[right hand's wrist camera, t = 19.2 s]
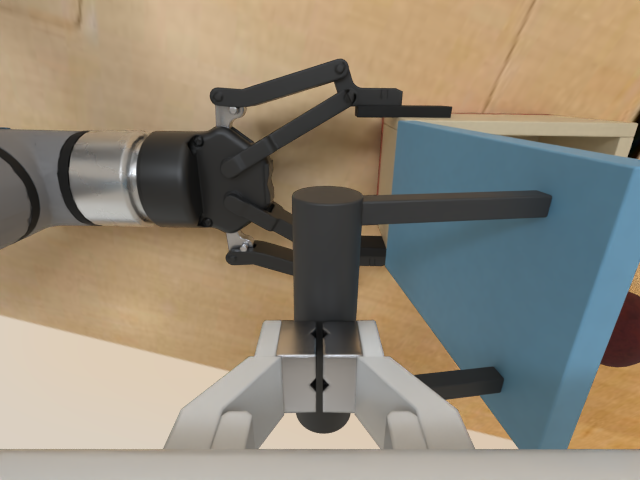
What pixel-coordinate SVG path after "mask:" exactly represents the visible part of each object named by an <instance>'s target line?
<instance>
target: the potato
mask: <svg viewBox="0 0 640 480" xmlns="http://www.w3.org/2000/svg"><path fill="white" fill-rule="evenodd" d="M637 363H640V297H639V296H638V295H636V294H633V293H631V292H628V293H627V296H626V298H625V301H624V303H623V306H622V308H621V311H620V314H619V316H618V319H617V321H616V324H615V326H614V329H613V332H612V334H611V337H610V339H609V342H608V345H607V347H606V350H605V352H604V355H603V357H602V360H601V363H600V364H602V365H606V366H611V367H627V366H630V365H634V364H637Z"/></svg>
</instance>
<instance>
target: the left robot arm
mask: <svg viewBox="0 0 640 480" xmlns="http://www.w3.org/2000/svg"><path fill="white" fill-rule="evenodd" d="M331 82H334V84H335V87H336V90H337V94H335V95H333V96H332V97H330V98H328V99H327V100H325V101H324V102H322V103H320V104H319V105H317V106H315V107H314V108H312V109H310V110H309V111H307V112H305V113H304V114H302V115H301V116H299V117H297V118H296V119H294V120H292V121H291V122H289V123H287V124H286V125H284V126H282V127H281V128H279V129H277V130H276V131H274V132H272V133H271V134H269V135H268V136H266V137H264V138H263V139H261V140H259V141H258V142H256V143H254V142H253V141H252V140H250V139H249V138H248V137H246V136H245V135H243V134H242V133H241V132H239V131H238V130H237V129H235V128H234V127H232V124H233V121H234V120H235V119H237V118H240V117H243V116H244V115H245V113H246V107H249V106H256V105H260V104H263V103H267V102H270V101H273V100H276V99H279V98H283V97H286V96H289V95H292V94H296V93H299V92H302V91H305V90H308V89H312V88H315V87H318V86H321V85H325V84H328V83H331ZM402 93H403V91H400V90H398V89H396V88H359V87H357V86H356V85H355V84H354V83H353V81H352V78H351V74H350V71H349V66H348V63H347V62H346V61H345V60H343V59H336V60H333V61H330V62H327V63H324V64H320V65H317V66H314V67H311V68H308V69H305V70H302V71H298V72H295V73H292V74H289V75H286V76H283V77H280V78H276V79H273V80H270V81H267V82H264V83H261V84H258V85H254V86H251V87H248V88H245V89H231V88H214V89H212V91H211V92H210V99H211V101H212V103H213V104H215V108H216V127H214V128H212V129H211V130H209V131H204V132H195V131H155V132H152V133H151V134H149V133H147V132H145V131H102V130H92V131H52V130H17V129H10V128H3V127H0V249H2V248H4V247H6V246H8V245H11V244H13V243H15V242H17V241H19V240H22V239H24V238H26V237H28V236H30V235H32V234H34V233H36V232H39V231H41V230H43V229H45V228H48V227H52V226H60V225H71V226H129V227H151V226H153V225H155V224H156V225H158V226H160V227H187V228H205V227H213V228H216V229H219V230H221V231H223V232H225V233H226V235H227V241H228V247H229V252H228V253H227V255H226V261H227V262H228V263H229V264H231V265H250V264H254V265H258V266H261V267H265V268H268V269H272V270H275V271H279V272H283V273H286V274H290V275H293V250H292V249H289V248H285V247H282V246H278V245H275V244H271V243H268V242H264V241H254V239H253V237H252V236H249V235H245V234H243V233H242V231H241V229H242V228H244V227H245V226H247V225H248V224H249V223H251V222H253V223H255V224H257V225H259V226H260V227H262V228H264V229H266V230H268V231H274V232H276V233H278V234H280V235H282V236H284V237H285V238H287V239H289V240H291V241H293V223H292V214H291V213H289V212H287V211H285V210H284V209H283V208H282V207H281V206H280V205H278V204H277V203H275V202H273V199H274V187H273V184H272V181H271V176H272V172H273V160H271V158H270V156H269V155H270V154H272V153H274V152H275V151H277V150H278V149H280V148H281V147H283V146H285V145H286V144H288V143H290V142H291V141H293V140H295V139H297V138H298V137H300V136H302V135H303V134H305V133H307V132H308V131H310V130H312V129H313V128H315V127H317V126H318V125H320V124H322V123H323V122H325V121H327V120H329V119H330V118H332V117H334V116H335V115H337V114H339V113H340V112H342V111H344V110H345V109H347V108H349V107H350V106H355V116H357V117H379V118H398V117H412V118H451V111H452V107H449V106H412V105H402ZM386 250H387V249H386V246H385V243H384V241H383V238H382V236H361V246H360V262H359V266H383V265H385V261H386Z"/></svg>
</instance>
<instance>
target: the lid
mask: <svg viewBox="0 0 640 480" xmlns="http://www.w3.org/2000/svg"><path fill="white" fill-rule="evenodd" d="M292 223H293V279H294V320H296V321H316V331H317V374H316V412H303V413H296V415H297V418H298V420H299V421H300V423H301V424H302V425H303V426H304V427H305V428H307V429H308V430H310V431H313V432H316V433H332V432H335V431H337V430H339V429H341V428H342V427H343V426H344V425H345V424H346V423H347V421H348V420H349V417H350V413H336V412H323V380H322V326H323V321H356V313H357V296H358V279H359V262H360V246H361V229H362V225H382V224H389V228H388V239H387V250H386V261H385V267H386V268H387V270H388V271H389V272H390V274H391V275H392V276H393V278H394V279H395V281H396V282H397V283H398V285H399V286H400V287H401V289H402V290H403V291H404V293H405V294H406V296H407V297H408V298H409V300H410V301H411V302H412V304H413V305H414V307H415V308H416V309H417V311H418V312H419V313H420V315H421V316H422V317H423V319H424V320H425V322H426V323H427V324H428V326H429V327H430V328H431V330H432V331H433V332H434V334H435V335H436V337H437V338H438V339H439V341H440V342H441V343H442V345H443V346H444V347H445V349H446V350H447V352H448V353H449V354H450V356H451V357H452V358H453V360H454V361H455V362H456V364H457V365H458V367H459V368H460V369H461V370H455V371H446V372H437V373H428V374H419V375H414V376H415V377H416V378H418V379H419V380H420V381H422V382H423V383H424V384H425V385H427V386H428V387H429V388H431V389H432V390H433V391H434V392H436V393H437V394H438V395H439V396H441V397H442V398H443V399H445V400H446V399H454V398H462V397H471V396H479V395H480V397H481V398H482V399H483V401H484V402H485V403H486V405H487V406H488V408H489V409H490V410H491V412H492V413H493V414H494V416H495V417H496V418H497V420H498V421H499V423H500V424H501V425H502V427H503V428H504V429H505V431H506V432H507V434H508V435H509V436H510V438H511V439H512V440H513V442H514V443H515V444H516V446H517V447H518V449H567V448H568V445H569V443H570V440H571V437H572V435H573V432H574V430H575V427H576V424H577V422H578V419H579V417H580V414H581V412H582V409H583V406H584V404H585V401H586V399H587V396H588V394H589V391H590V388H591V386H592V383H593V381H594V378H595V375H596V373H597V370H598V368H599V365H600V363H601V360H602V357H603V355H604V352H605V350H606V347H607V345H608V342H609V339H610V337H611V334H612V332H613V329H614V326H615V324H616V321H617V319H618V316H619V314H620V311H621V308H622V306H623V303H624V301H625V298H626V296H627V293H628V290H629V288H630V285H631V283H632V280H633V277H634V275H635V272H636V270H637V267H638V265H639V262H640V160H638V159H632V158H627V157H621V156H615V155H609V154H604V153H598V152H592V151H587V150H581V149H575V148H569V147H564V146H558V145H552V144H546V143H541V142H535V141H529V140H524V139H518V138H512V137H506V136H501V135H495V134H489V133H483V132H478V131H472V130H466V129H461V128H455V127H449V126H443V125H438V124H432V123H426V122H420V121H415V120H399V121H398V128H397V139H396V150H395V161H394V172H393V183H392V195H364V196H363V195H362V194H361V193H360V192H358V191H356V190H353V189H349V188H344V187H336V186H315V187H307V188H303V189H300V190H297V191H295V192H294V193H293V195H292Z"/></svg>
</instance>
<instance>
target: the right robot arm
mask: <svg viewBox="0 0 640 480" xmlns="http://www.w3.org/2000/svg"><path fill="white" fill-rule="evenodd" d="M316 374H317V331H316V321H296V320H282V321H281V320H265V321H264V322H263V324H262V328H261V332H260V336H259V340H258V344H257V348H256V352H255V355H254V356H249V357H248V358H247V359H245V360H244V361H243V362H241V363H240V364H239V365H237V366H236V367H235V368H234V369H232V370H231V371H230V372H228V373H227V374H226V375H225V376H223V377H222V378H221V379H219V380H218V381H217V382H216V383H214V384H213V385H212V386H211V387H209V388H208V389H207V390H205V391H204V392H203V393H201V394H200V395H199V396H198V397H196V398H195V399H194V400H193V401H191V402H190V403H189V404H187V405H186V406H185V407H183V408H182V409H181V411H180V413H179V415H178V417H177V420H176V422H175V424H174V426H173V428H172V430H171V433H170V435H169V437H168V439H167V442H166V444H165V446H164V448H163V449H0V480H640V449H475V448H474V445H473V443H472V441H471V439H470V436H469V434H468V432H467V430H466V427H465V425H464V423H463V421H462V418H461V416H460V414H459V412H458V410H457V409H456V408H455V407H453V406H452V405H451V404H450V403H448V402H447V401H446V400H445V399H443V398H442V397H441V396H439V395H438V394H437V393H436V392H434V391H433V390H432V389H431V388H429V387H428V386H427V385H425V384H424V383H423V382H422V381H420V380H419V379H418V378H416V377H415V376H414V375H413V374H411V373H410V372H409V371H408V370H406V369H405V368H404V367H402V366H401V365H400V364H399V363H397V362H396V361H395V360H393V359H392V358H391V357H389V356H384V353H383V349H382V345H381V341H380V337H379V333H378V329H377V325H376V322H375V321H374V320H357V321H323V326H322V380H323V412H336V413H355V415H356V417H357V418H358V419H359V421H360V422H361V423H362V425H363V426H364V427H365V429H366V430H367V431H368V433H369V434H370V435H371V437H372V438H373V439H374V441H375V442H376V443H377V445H378V446H379V447H380V449H259V447H260V446H261V445H262V443H263V442H264V441H265V439H266V438H267V437H268V435H269V434H270V433H271V431H272V430H273V429H274V428H275V426H276V425H277V424H278V422H279V421H280V420H281V418H282V417H283V416H284V413H303V412H316Z"/></svg>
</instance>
